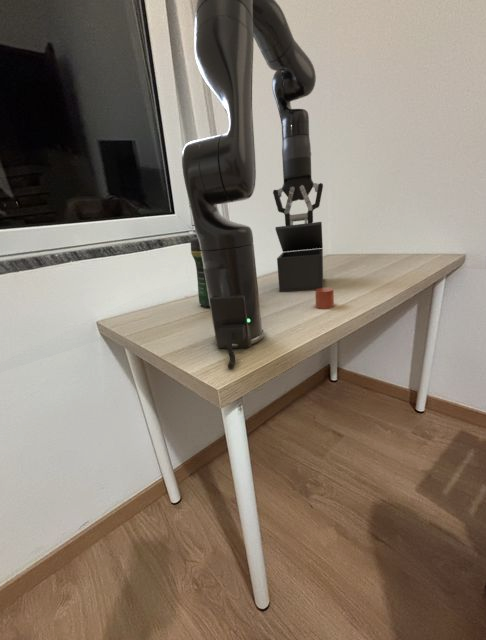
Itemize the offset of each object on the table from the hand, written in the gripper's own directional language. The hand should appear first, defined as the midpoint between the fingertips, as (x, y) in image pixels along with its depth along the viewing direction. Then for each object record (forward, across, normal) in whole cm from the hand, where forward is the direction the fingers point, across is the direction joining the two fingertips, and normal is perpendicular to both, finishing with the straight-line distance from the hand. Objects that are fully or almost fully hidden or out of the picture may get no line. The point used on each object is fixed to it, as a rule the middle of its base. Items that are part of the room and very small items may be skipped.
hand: (299, 226), depth 88 cm
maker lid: (+4, 0, +2) cm, 4 cm away
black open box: (+17, 0, +2) cm, 18 cm away
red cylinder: (+18, +7, -22) cm, 29 cm away
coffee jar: (+18, -23, -14) cm, 32 cm away
